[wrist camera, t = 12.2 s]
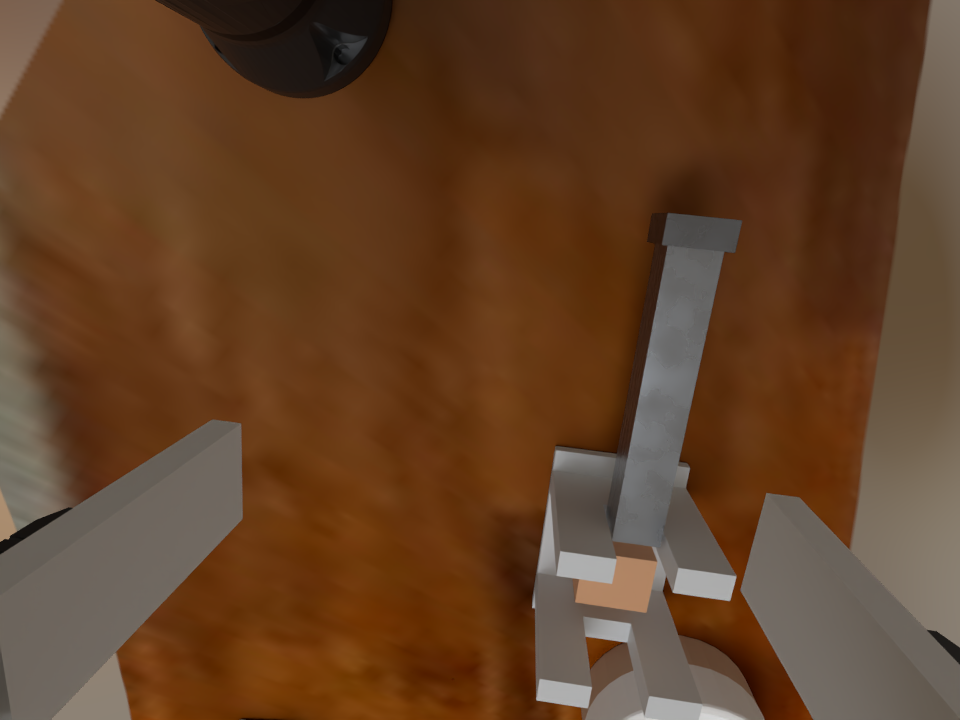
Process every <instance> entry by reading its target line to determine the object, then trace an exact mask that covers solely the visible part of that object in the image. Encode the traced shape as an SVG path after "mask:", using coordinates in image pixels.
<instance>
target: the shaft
mask: <svg viewBox="0 0 960 720" xmlns="http://www.w3.org/2000/svg"><path fill="white" fill-rule="evenodd" d="M741 223H742V221H741V220H732V219H722V218H712V217H703V216H693V215H683V214H674V213H652V216H651V222H650V228H649V233H648V239H647V242H650V243H655V248H654V254H653V259H652V265H651V270H650V276H649V281H648V286H647V292H646V297H645V303H644V308H643V314H642V319H641V325H640V330H639V336H638V341H637V346H636V352H635V357H634V363H633V368H632V374H631V379H630V385H629V390H628V396H627V401H626V407H625V412H624V417H623V423H622V428H621V434H620V439H619V445H618V450H617V456H616V461H615V467H614V472H613V478H612V483H611V488H610V494H609V499H608V505H607V510H606V519H607V522H608V526H609V530H610V534H611V538H612V541H615V542H623V543H630V544H637V545H644V546H651V547H658V548H660V546H661V541H662V536H663V532H664V527H665V523H666V518H667V513H668V509H669V504H670V499H671V495H672V490H673V486H674V481H675V476H676V472H677V467H678V463H679V458H680V453H681V449H682V444H683V439H684V435H685V430H686V426H687V421H688V416H689V412H690V407H691V403H692V398H693V393H694V389H695V384H696V379H697V375H698V370H699V366H700V361H701V356H702V352H703V347H704V343H705V338H706V333H707V329H708V324H709V320H710V315H711V310H712V306H713V301H714V296H715V292H716V287H717V283H718V278H719V273H720V269H721V264H722V260H723V255H724V252H732V253H735V250H736V246H737V241H738V237H739V232H740V228H741Z"/></svg>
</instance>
